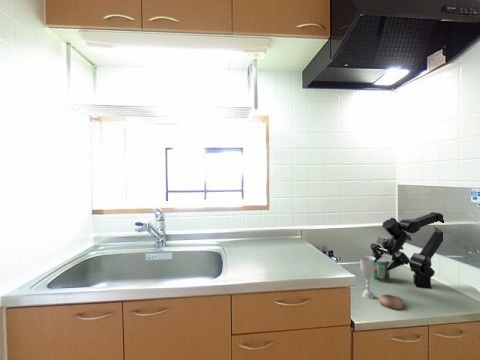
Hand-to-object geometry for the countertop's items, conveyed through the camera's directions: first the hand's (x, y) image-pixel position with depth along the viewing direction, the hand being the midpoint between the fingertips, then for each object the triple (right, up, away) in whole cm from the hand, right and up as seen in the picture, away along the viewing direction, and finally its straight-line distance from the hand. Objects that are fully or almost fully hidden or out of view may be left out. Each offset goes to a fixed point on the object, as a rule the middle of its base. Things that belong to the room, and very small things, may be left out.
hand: (378, 267), depth 126 cm
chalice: (-6, -13, -1) cm, 15 cm away
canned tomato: (+10, -12, +17) cm, 23 cm away
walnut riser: (+1, -13, -10) cm, 17 cm away
